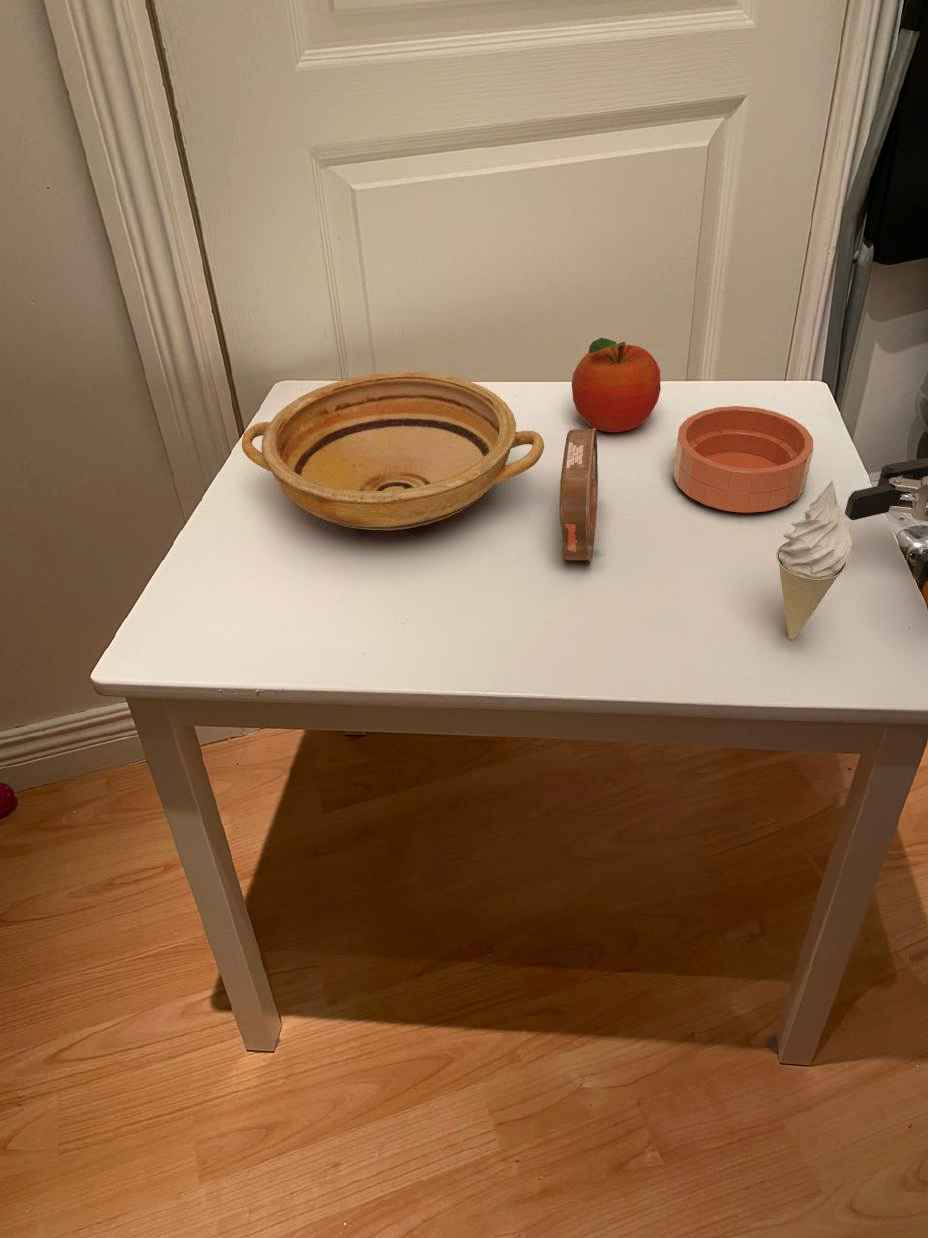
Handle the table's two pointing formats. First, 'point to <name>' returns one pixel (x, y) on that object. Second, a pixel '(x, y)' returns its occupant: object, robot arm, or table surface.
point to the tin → (579, 494)
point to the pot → (742, 458)
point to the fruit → (615, 386)
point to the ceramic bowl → (391, 449)
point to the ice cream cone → (812, 559)
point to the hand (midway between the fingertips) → (882, 537)
